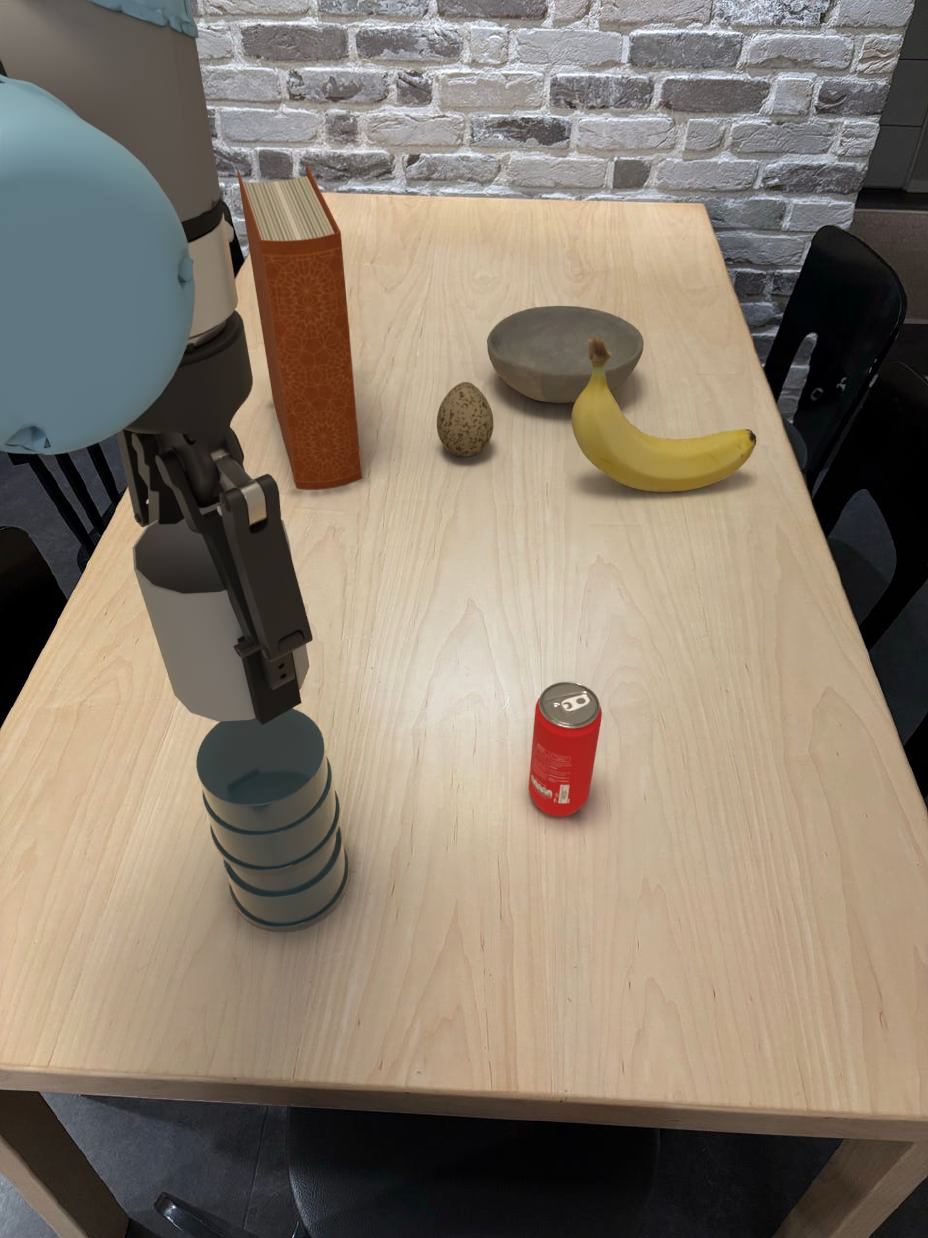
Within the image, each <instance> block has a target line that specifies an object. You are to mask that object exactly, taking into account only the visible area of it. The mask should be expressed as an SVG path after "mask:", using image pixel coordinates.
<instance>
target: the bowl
mask: <svg viewBox="0 0 928 1238" xmlns="http://www.w3.org/2000/svg"><path fill="white" fill-rule="evenodd" d="M593 337H594V338H595V337H596V338H602V339H603V340H604V343H605V347H606V349H608V350H609V351H610V352H611V354H612V357H611V358H609V359H608V360H607V362H606V365H605V376H606V382H607V386H608V388H609V390H610V392H611V393H612V392H613V391H614V390H616V389H618V388H619V387H620V386H621V385H622V384H623V383H625V381H626V380H627V379H628V378H629V377H630V376H631V374H632V373H633V371H634V370H635V368H636V367H637V365H638V364H639V361H640V359H641V357H642V355H643V353H644V352H643V351H644V338H643V335H642V333H641V332H640V330H639V329H638V328H637V327H636V326H634V325H633V324H632V323H630V322H629V321H627V320H625V319H624V318H622V317H620V316H617V315H615V314H613V313H610V312H607V311H604V310H599V309H594V308H589V307H583V306H575V305H574V306H573V305H547V306H546V305H545V306H535V307H531V308H527V309H523V310H521V311H517V312H514V313H512V314H510V315H508V316H506V317H505V318H503V319H502V320H500V321H499V322H498V323H497V324H496V325H495V326H493V328H492V329H491V331H490V332H489V334H488V336H487V338H486V344H487V347H486V348H487V355H488V359H489V361H490V363H491V365H492V368H493V369H494V371H495V373H497V375H498V376H499V377H500V378H501V380H502V381H504V382H505V383H506V384H507V385H508V386H509V387H511V388H512V389H513V390H514V391H517V392H519V393H520V394H522V395H524V396H525V397H527V398H529V399H530V400H531V399H532V400H534V401H538V402H546V403H550V404H551V403H552V404H575V402H576V400H577V399H578V397H579V396H580V394H581V393H582V392H583V390H584V389H585V388H586V387H587V385H588V383H589V381H590V379H591V376H592V372H593V366H592V363H591V361H590V359H589V358H588V354H589V350H588V340H589V339H591V338H593Z"/></svg>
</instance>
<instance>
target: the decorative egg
mask: <svg viewBox="0 0 928 1238" xmlns="http://www.w3.org/2000/svg"><path fill="white" fill-rule="evenodd" d="M436 432H437V435H438V438H439V440H440V443H441V444H442V445H443V447H444V448H445V449H446V450H447V451H448V452H449V453H450V454H453V455H455V456H457V457H461V458H469V457H474V456H475V455H478V454H479V453H481V452H483V450H484V449H485V448H486V447H487V446H488V445H489V443H490V441H491V439H492V435H493V432H494V415H493V411H492V407H491V405H490V403H489V401H488V399H487V397H486V396H485V395H484V393H483V392H482V391H481V390H480V389H479V388H478V387H477V386H476V385H474V384H473V383H471V382H468V381H462V382H459V383H458V384H456V385H455V386H454V387H452V388H451V389H450V390H449V392H448V393H447V394H446V395H445V396H444V398H443V399H442V401H441V402H440V405H439V407H438V411H437V416H436Z"/></svg>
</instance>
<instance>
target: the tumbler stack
mask: <svg viewBox="0 0 928 1238" xmlns="http://www.w3.org/2000/svg"><path fill="white" fill-rule="evenodd" d="M195 760H196V761H195V763H196V764H195V765H196V766H195V767H196V773H197V777H198V779H199V782H200V785H201V788H202V789H201V791H202V801H203V805H204V808H205V811H206V814H207V817H208V820H209V826H210V827H209V828H210V829H209V830H210V834H211V839H212V842H213V844H214V847H215V850H216V851H217V853H218V854H219V856H220V857H221V858H222V862H223V865H224V868H225V872H226V876H227V879H228V888H229V892H230V896H231V899H232V902H233V904H234V906H235V908H236V910H237V911H238V913H239V914H240V915H241V916H242V917H243V919H245V920H246V921H247V922H248V923H250V924H251V925H253V926H255V927H257V928H260V929H262V930H265V931H268V932H269V931H270V932H276V933H289V932H296V931H299V930H304V929H306V928H309V927H311V926H314V925H315V924H317V923H319V922H320V921H322V920H324V919H325V918H326V917H327V916H329V915H330V914H331V913H332V912H333V911H334V910H335V909H336V907H338V905H339V904H340V902H341V901H342V899H343V897H344V895H345V894H346V892H347V888H348V885H349V881H350V865H349V864H350V863H349V858H348V854H347V851H346V849H345V847H344V842H343V836H342V830H341V827H340V823H341V805H340V800H339V795H338V793H337V791H336V789H335V783H334V777H333V771H332V767H331V763H330V761H329V758H328V756H327V751H326V747H325V740H324V736H323V733H322V731H321V729H320V727H319V726H318V724H316V722H315V721H314V720H313V719H312V718H311V717H310V716H308V715H307V714H305V713H304V712H302V711H300V710H298V709H296V708H292V709H290V710H288V711H287V712H285V713H283V714H281V715H279V716H278V717H276V718H274V719H272V720H271V721H269V722H267V723H265V724H264V725H261V723H260V722H259V721H258V720H257V719H256V718H253V719H251V720H238V721H219V722H217V723H216V724H215V725H214V726H213V727H212V728H211V729H210V730H209V731H208V733H207V734H206V735H205V736H204V738H203V739H202V741H201V743H200V744H199V748H198V751H197V754H196V759H195Z"/></svg>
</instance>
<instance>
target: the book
mask: <svg viewBox="0 0 928 1238" xmlns="http://www.w3.org/2000/svg"><path fill="white" fill-rule="evenodd" d="M236 172H237V178H238V179H237V180H238V185H239V191H240V197H241V204H242V210H243V211H242V212H243V218H244V223H245V224H244V225H245V229H246V237H247V242H248V248H249V249H248V250H249V256H250V262H251V268H252V276H253V282H254V287H255V293H256V300H257V307H258V313H259V321H260V326H261V332H262V339H263V346H264V351H265V358H266V365H267V371H268V379H269V384H270V389H271V396H272V402H273V405H274V410H275V413H276V417H277V421H278V424H279V428H280V433H281V436H282V439H283V444H284V447H285V451H286V455H287V459H288V462H289V466H290V470H291V474H292V478H293V480H294V485H295V488H296V489H301V490H326V489H332V488H333V489H334V488H338V487H342V486H346V485H348V484H351V483H354V482H357V481H359V480H361V479H363V473H362V462H361V451H360V450H361V449H360V442H359V441H360V439H359V427H358V426H359V425H358V416H357V404H356V393H355V380H354V369H353V357H352V346H351V336H350V335H351V334H350V324H349V323H350V322H349V311H348V299H347V290H346V288H347V287H346V278H345V277H346V275H345V265H344V254H343V241H342V232H341V229H340V227H339V226H338V223H337V222H336V219H335V217H334V215H333V213H332V212H331V210H330V208H329V205H328V203H327V201H326V200H325V198H324V195H323V193H322V191H321V189H320V187H319V186H318V185H319V184H318V183H317V181H316V180H315V178H314V175H313V173H312V171H311V169H310V168H309V165H308V164H305V173H306V174H305V176H302V177H298V178H293V179H286V180H279V181H278V180H275V181H274V180H273V181H267V182H264V181H263V182H253V181H252V182H251V181H250V182H249V181H243V179H242V175H241V173H240V170H236Z"/></svg>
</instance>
